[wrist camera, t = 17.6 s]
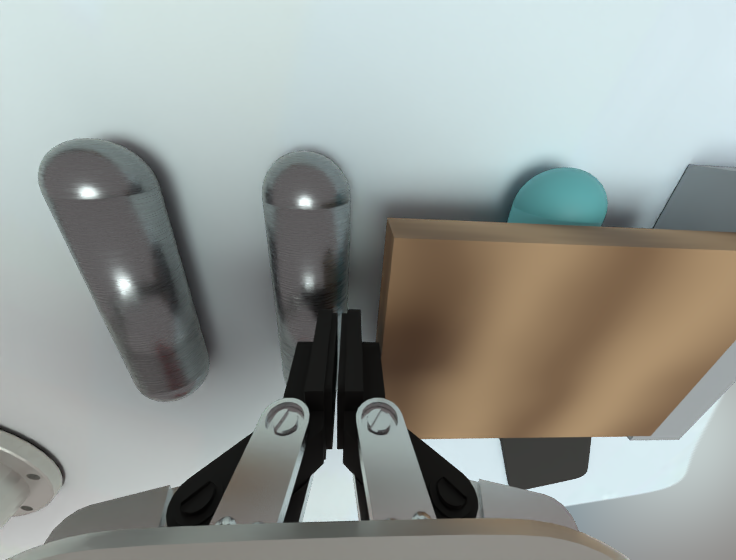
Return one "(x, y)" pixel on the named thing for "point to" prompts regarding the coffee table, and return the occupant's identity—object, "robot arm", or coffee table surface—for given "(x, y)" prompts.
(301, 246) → the roller
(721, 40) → the coffee table surface
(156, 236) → the roller
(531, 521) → the robot arm
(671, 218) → the block
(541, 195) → the roller
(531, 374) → the slab
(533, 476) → the phone
